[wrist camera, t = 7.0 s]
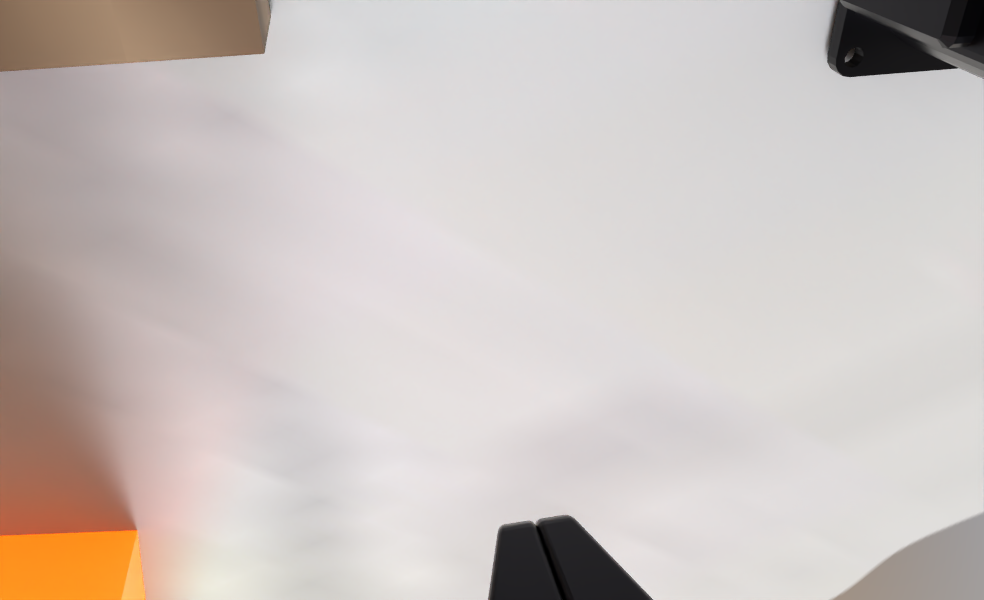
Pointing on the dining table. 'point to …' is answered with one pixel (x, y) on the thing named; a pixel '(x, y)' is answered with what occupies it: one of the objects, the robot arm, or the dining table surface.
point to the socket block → (127, 31)
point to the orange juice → (71, 566)
